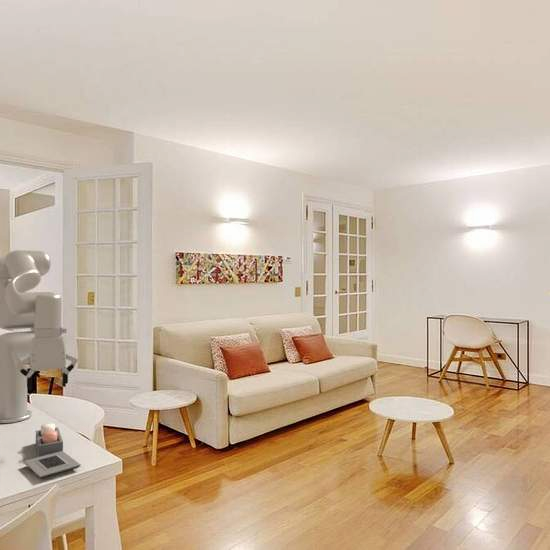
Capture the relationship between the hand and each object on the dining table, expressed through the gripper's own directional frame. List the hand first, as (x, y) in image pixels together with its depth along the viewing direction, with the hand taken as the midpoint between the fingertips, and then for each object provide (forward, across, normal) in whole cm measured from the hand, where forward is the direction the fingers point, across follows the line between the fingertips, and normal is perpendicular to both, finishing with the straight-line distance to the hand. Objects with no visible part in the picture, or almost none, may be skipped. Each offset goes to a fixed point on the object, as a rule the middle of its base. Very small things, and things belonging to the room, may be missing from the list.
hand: (47, 387), depth 143 cm
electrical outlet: (+19, 0, +19) cm, 27 cm away
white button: (+16, 0, 0) cm, 16 cm away
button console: (+18, 0, +3) cm, 19 cm away
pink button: (+16, 0, +7) cm, 17 cm away
